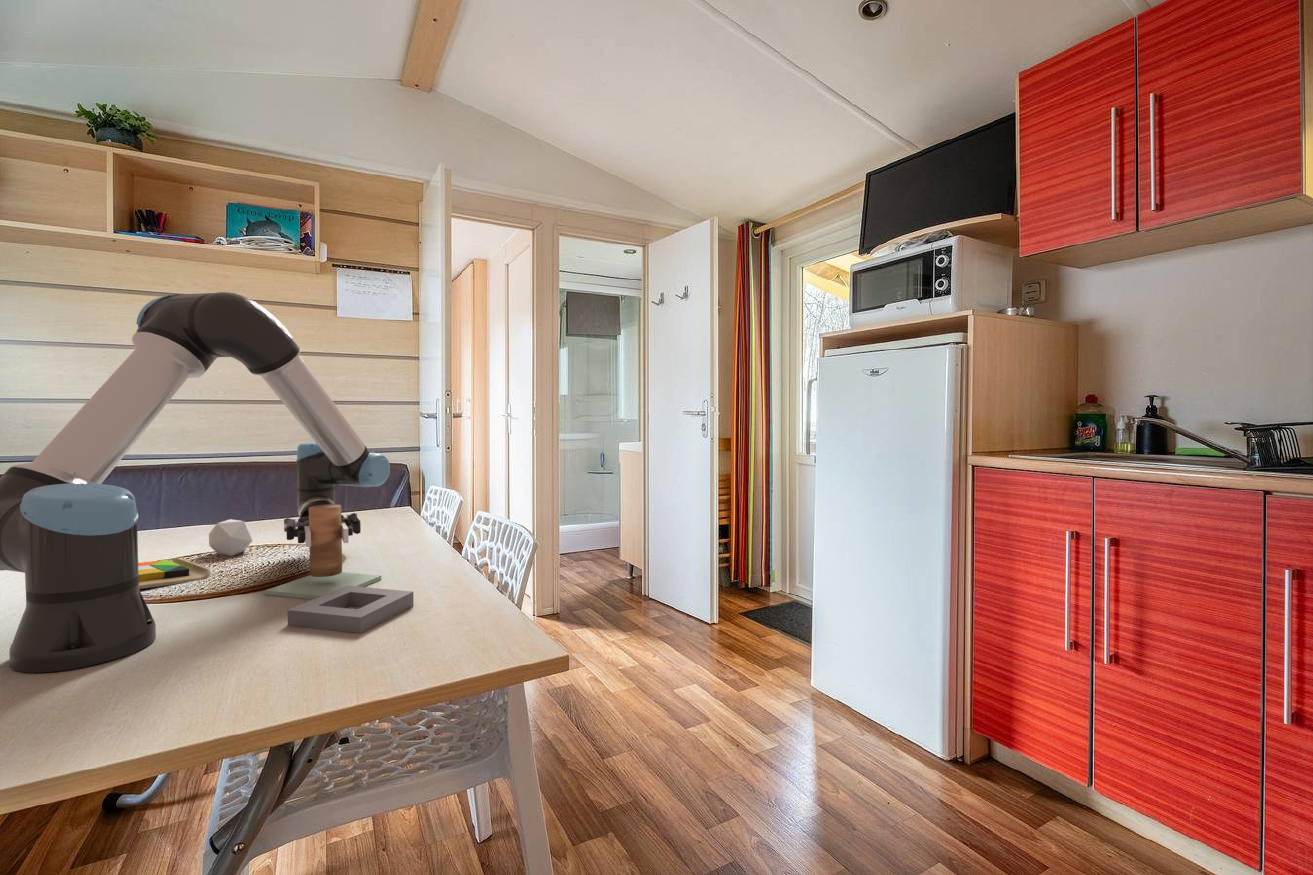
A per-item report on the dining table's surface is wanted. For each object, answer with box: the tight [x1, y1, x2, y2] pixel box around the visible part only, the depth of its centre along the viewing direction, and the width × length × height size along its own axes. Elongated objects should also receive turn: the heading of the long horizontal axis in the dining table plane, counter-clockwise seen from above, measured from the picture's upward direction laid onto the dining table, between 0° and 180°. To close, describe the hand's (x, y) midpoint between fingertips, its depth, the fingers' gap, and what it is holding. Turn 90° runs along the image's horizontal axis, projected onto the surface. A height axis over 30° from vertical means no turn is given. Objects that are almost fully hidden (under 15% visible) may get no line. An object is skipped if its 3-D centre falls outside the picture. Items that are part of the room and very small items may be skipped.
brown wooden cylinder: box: [309, 503, 343, 577], centre depth 117 cm, size 6×6×13 cm
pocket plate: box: [286, 586, 414, 634], centre depth 102 cm, size 14×14×2 cm
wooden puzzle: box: [138, 557, 212, 590], centre depth 119 cm, size 18×19×4 cm
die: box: [208, 519, 253, 557], centre depth 141 cm, size 8×9×10 cm
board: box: [264, 571, 382, 600], centre depth 117 cm, size 14×14×1 cm
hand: (327, 537), depth 112 cm, fingers closed on brown wooden cylinder, 5 cm apart
